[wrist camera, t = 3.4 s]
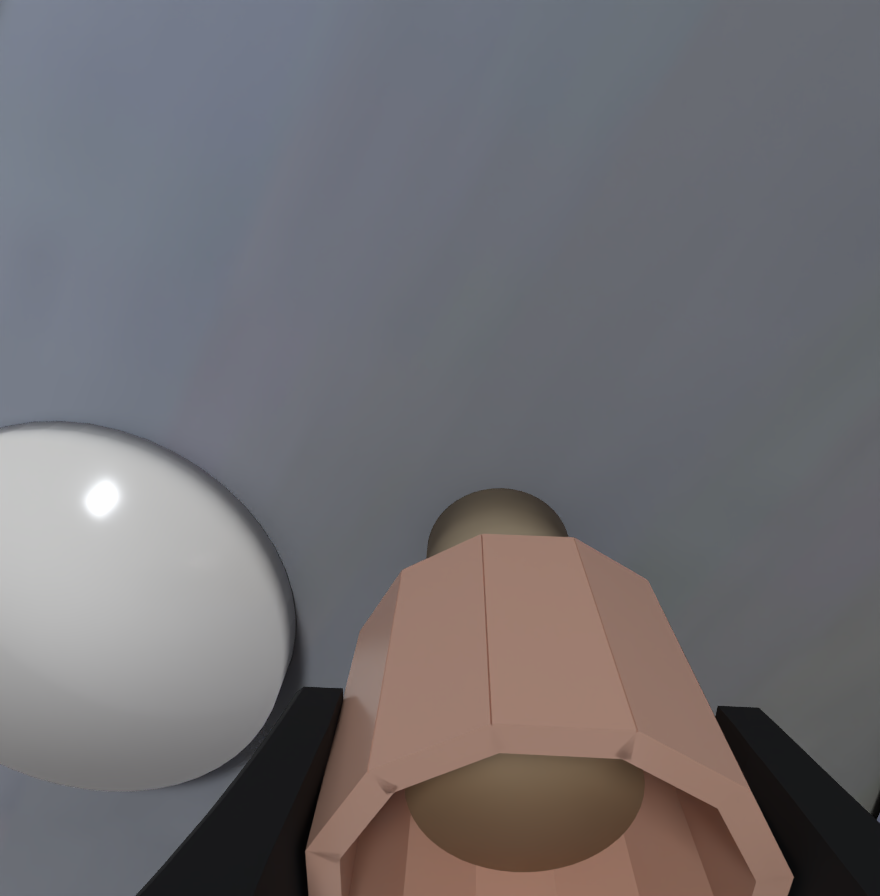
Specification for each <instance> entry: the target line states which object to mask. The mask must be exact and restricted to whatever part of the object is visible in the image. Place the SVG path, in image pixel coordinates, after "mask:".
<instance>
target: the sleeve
mask: <svg viewBox="0 0 880 896" xmlns="http://www.w3.org/2000/svg"><path fill="white" fill-rule="evenodd" d="M498 753H508V754H528V755H549V756H569V757H590V758H610V759H623V760H625V761H627V762H629V763H631V764H633V765H634V766H636V767H638V768H640V769H642V770H643V772H644V780H645V788H644V797H643V800H642V804H641V807H640V809H639V812H638V814H637V816H636V818H635V819H634V821H633V822H632V824H631V825H630V827H629V828H628V829H627V830H626V831H625V832H624V834H623V835H622V836H621V837H620V838H619V839H618V840H616V841H615V842H614V843H613V844H612V845H610V846H609V847H607V848H606V849H604V850H603V851H601V852H600V853H598V854H596V855H594V856H592V857H590V858H588V859H586V860H584V861H581V862H578V863H576V864H573V865H570V866H566V867H562V868H559V869H553V870H547V871H539V872H508V871H499V870H493V869H488V868H484V867H481V866H477V865H473V864H471V863H468V862H466V861H463V860H461V859H459V858H457V857H455V856H453V855H451V854H449V853H447V852H446V851H444V850H443V849H441V848H440V847H438V846H437V845H436V844H435V843H433V842H432V841H431V840H430V839H429V838H428V837H427V836H426V835H425V834H424V833H423V832H422V831H421V829H420V828H419V827H418V825H417V824H416V822H415V821H414V819H413V817H412V815H411V813H410V811H409V808H408V805H407V801H406V797H405V788H407V787H410V786H412V785H415V784H418V783H420V782H423V781H426V780H428V779H431V778H434V777H437V776H439V775H442V774H445V773H447V772H450V771H453V770H455V769H458V768H461V767H463V766H466V765H469V764H471V763H474V762H477V761H479V760H482V759H485V758H487V757H490V756H493V755H496V754H498ZM305 856H306V869H307V881H308V894H309V896H788V893H789V890H790V887H791V884H792V881H793V878H794V876H793V874H792V872H791V870H790V868H789V866H788V864H787V862H786V860H785V858H784V856H783V854H782V852H781V850H780V848H779V846H778V844H777V842H776V840H775V838H774V836H773V834H772V831H771V829H770V827H769V825H768V823H767V821H766V819H765V817H764V815H763V813H762V811H761V809H760V807H759V805H758V803H757V801H756V799H755V797H754V795H753V793H752V791H751V789H750V787H749V785H748V783H747V781H746V779H745V777H744V774H743V772H742V770H741V768H740V766H739V764H738V762H737V760H736V758H735V756H734V754H733V752H732V750H731V748H730V746H729V744H728V742H727V740H726V738H725V736H724V734H723V732H722V730H721V728H720V726H719V724H718V722H717V719H716V717H715V715H714V713H713V711H712V709H711V707H710V705H709V703H708V701H707V699H706V697H705V695H704V693H703V691H702V689H701V687H700V685H699V683H698V681H697V679H696V677H695V675H694V673H693V671H692V669H691V667H690V664H689V662H688V660H687V658H686V656H685V654H684V652H683V650H682V648H681V646H680V644H679V642H678V640H677V638H676V636H675V634H674V632H673V630H672V628H671V626H670V624H669V622H668V620H667V618H666V616H665V614H664V612H663V610H662V608H661V606H660V604H659V602H658V600H657V598H656V596H655V594H654V592H653V590H652V588H651V586H650V584H649V582H648V580H647V579H645V578H643V577H642V576H640V575H638V574H636V573H635V572H633V571H631V570H629V569H628V568H626V567H624V566H623V565H621V564H619V563H617V562H616V561H614V560H612V559H610V558H609V557H607V556H605V555H604V554H602V553H600V552H598V551H597V550H595V549H593V548H591V547H590V546H588V545H586V544H585V543H583V542H581V541H579V540H578V539H576V538H573V537H553V536H527V535H502V534H482V535H481V534H480V535H478V536H475V537H473V538H471V539H469V540H467V541H464V542H462V543H460V544H458V545H456V546H453V547H451V548H449V549H447V550H445V551H443V552H440V553H438V554H436V555H434V556H432V557H429V558H427V559H425V560H423V561H421V562H418V563H416V564H414V565H412V566H410V567H407V568H405V569H403V571H401V572H400V574H399V575H398V577H397V578H396V580H395V581H394V582H393V584H392V585H391V587H390V588H389V590H388V591H387V593H386V594H385V596H384V597H383V598H382V600H381V601H380V603H379V604H378V606H377V607H376V609H375V610H374V611H373V613H372V614H371V616H370V617H369V619H368V620H367V622H366V623H365V624H364V626H363V627H362V629H361V630H360V633H359V637H358V641H357V645H356V649H355V653H354V657H353V661H352V665H351V669H350V673H349V677H348V681H347V685H346V689H345V693H344V697H343V703H342V707H341V711H340V715H339V719H338V723H337V727H336V731H335V735H334V739H333V743H332V747H331V752H330V755H329V759H328V762H327V766H326V770H325V774H324V778H323V782H322V786H321V790H320V794H319V798H318V802H317V806H316V810H315V814H314V818H313V822H312V826H311V830H310V834H309V838H308V842H307V846H306V850H305Z"/></svg>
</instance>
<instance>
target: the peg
mask: <svg viewBox="0 0 880 896" xmlns="http://www.w3.org/2000/svg"><path fill="white" fill-rule="evenodd" d="M480 534H481V535H482V534H502V535H527V536H553V537H568V534H567V531H566V529H565V527H564V524H563V523H562V521H561V519H560V518H559V516H558V515H557V514H556V513H555V512H554V510H553V509H552V508H551V507H549V506H548V505H547V504H546V503H544V502H543V501H541V500H540V499H538V498H536V497H534V496H532V495H530V494H528V493H525V492H522V491H517V490H513V489H503V488H498V489H487V490H481V491H478V492H474V493H471V494H469V495H466V496H464V497H462V498H461V499H459V500H457V501H456V502H454V503H453V504H451V505H450V506H449V507H448V508H447V509H446V510H445V511H444V512H443V513H442V514H441V515H440V517H439V518H438V519H437V521H436V522H435V524H434V526H433V528H432V530H431V533H430V536H429V540H428V548H427V558H429V557H432V556H434V555H436V554H438V553H440V552H443V551H445V550H447V549H449V548H451V547H453V546H456V545H458V544H460V543H462V542H464V541H467V540H469V539H471V538H473V537H475V536H478V535H480ZM427 558H426V559H427ZM644 788H645V780H644V772H643V770H642V769H640V768H638V767H636V766H634V765H633V764H631V763H629V762H627V761H625V760H623V759H610V758H590V757H569V756H549V755H528V754H508V753H498V754H496V755H493V756H490V757H487V758H485V759H482V760H479V761H477V762H474V763H471V764H469V765H466V766H463V767H461V768H458V769H455V770H453V771H450V772H447V773H445V774H442V775H439V776H437V777H434V778H431V779H428V780H426V781H423V782H420V783H418V784H415V785H412V786H410V787H407V788H405V797H406V801H407V805H408V808H409V811H410V813H411V815H412V817H413V819H414V821H415V822H416V824H417V825H418V827H419V828H420V829H421V831H422V832H423V833H424V834H425V835H426V836H427V837H428V838H429V839H430V840H431V841H432V842H433V843H435V844H436V845H437V846H438V847H440V848H441V849H443V850H444V851H446V852H447V853H449V854H451V855H453V856H455V857H457V858H459V859H461V860H463V861H466V862H468V863H471V864H473V865H477V866H481V867H484V868H488V869H493V870H499V871H508V872H539V871H547V870H553V869H559V868H562V867H566V866H570V865H573V864H576V863H578V862H581V861H584V860H586V859H588V858H590V857H592V856H594V855H596V854H598V853H600V852H601V851H603V850H604V849H606V848H607V847H609V846H610V845H612V844H613V843H614V842H615V841H616V840H618V839H619V838H620V837H621V836H622V835H623V834H624V832H625V831H626V830H627V829H628V828H629V827H630V825H631V824H632V822H633V821H634V819H635V818H636V816H637V814H638V812H639V809H640V807H641V804H642V800H643V797H644Z"/></svg>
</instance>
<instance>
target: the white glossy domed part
mask: <svg viewBox="0 0 880 896" xmlns="http://www.w3.org/2000/svg"><path fill="white" fill-rule="evenodd" d="M295 628H296V614H295V608H294V601H293V594H292V590H291V587H290V584H289V581H288V577H287V574H286V571H285V568H284V566H283V564H282V562H281V560H280V558H279V556H278V553H277V551H276V549H275V547H274V546H273V544H272V543H271V541H270V539H269V538H268V536H267V535H266V533H265V531H264V530H263V528H262V527H261V525H260V524H259V523H258V522H257V521H256V519H255V518H254V517H253V516H252V514H251V513H250V512H249V511H248V510H247V508H246V507H245V506H244V505H243V504H242V503H241V502H240V501H239V500H238V499H237V498H236V497H235V496H234V495H233V494H232V493H231V492H230V491H229V490H228V489H227V488H226V487H225V486H223V485H222V484H221V483H220V482H218V481H217V480H216V479H214V478H213V477H212V476H210V475H209V474H208V473H207V472H205V471H204V470H203V469H201V468H200V467H198V466H197V465H195V464H193V463H192V462H190V461H188V460H187V459H185V458H183V457H182V456H180V455H178V454H177V453H175V452H173V451H171V450H169V449H167V448H164V447H162V446H160V445H158V444H156V443H154V442H152V441H149V440H147V439H144V438H141V437H138V436H135V435H132V434H129V433H126V432H123V431H120V430H116V429H112V428H107V427H103V426H98V425H93V424H87V423H77V422H66V421H45V422H29V423H23V424H17V425H11V426H5V427H2V428H0V764H2V765H4V766H6V767H8V768H10V769H13V770H15V771H18V772H21V773H23V774H26V775H29V776H31V777H34V778H37V779H41V780H45V781H48V782H52V783H55V784H59V785H64V786H69V787H75V788H80V789H87V790H98V791H109V792H117V791H142V790H152V789H159V788H163V787H168V786H173V785H177V784H181V783H183V782H186V781H189V780H192V779H195V778H198V777H200V776H202V775H205V774H207V773H209V772H211V771H213V770H215V769H217V768H219V767H220V766H222V765H223V764H225V763H226V762H228V761H229V760H230V759H232V758H233V757H235V756H236V755H237V754H238V753H239V752H241V751H242V750H243V749H244V748H245V747H246V746H247V745H248V744H249V743H250V742H251V741H252V740H253V739H254V737H255V736H256V735H257V734H258V732H259V731H260V730H261V728H262V727H263V726H264V724H265V722H266V720H267V718H268V717H269V715H270V713H271V711H272V709H273V707H274V704H275V702H276V699H277V696H278V694H279V691H280V688H281V686H282V683H283V680H284V677H285V675H286V672H287V669H288V666H289V663H290V660H291V657H292V653H293V647H294V641H295Z"/></svg>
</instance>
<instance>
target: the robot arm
mask: <svg viewBox="0 0 880 896" xmlns="http://www.w3.org/2000/svg"><path fill="white" fill-rule="evenodd" d="M342 703H343V689H342V688H320V687H303V688H302V689H300V690H299V691H298V692H297V693H296V694H295V696H294V697H293V699H292V701H291V702H290V704H289V705H288V707H287V708H286V710H285V711H284V712H283V714H282V715H281V717H280V718H279V720H278V721H277V723H276V724H275V726H274V727H273V728H272V730H271V731H270V733H269V734H268V735H267V737H266V738H265V740H264V741H263V742H262V744H261V745H260V746H259V748H258V749H257V750H256V752H255V753H254V755H253V756H252V757H251V759H250V760H249V761H248V763H247V764H246V765H245V766H244V768H243V769H242V770H241V772H240V773H239V774H238V775H237V777H236V778H235V779H234V781H233V782H232V783H231V784H230V786H229V787H228V788H227V789H226V791H225V792H224V793H223V795H222V796H221V797H220V798H219V800H218V801H217V802H216V804H215V805H214V806H213V807H212V808H211V810H210V811H209V812H208V813H207V815H206V816H205V817H204V818H203V819H202V821H201V822H200V823H199V824H198V825H197V826H196V828H195V829H194V830H193V831H192V832H191V833H190V835H189V836H188V837H187V838H186V839H185V840H184V842H183V843H182V844H181V845H180V846H179V847H178V848H177V850H176V851H175V852H174V853H173V854H172V855H171V857H170V858H169V859H168V860H167V861H166V862H165V864H164V865H163V866H162V867H161V868H160V869H159V870H158V872H157V873H156V874H155V875H154V876H153V877H152V878H151V879H150V880H149V881H148V883H147V884H146V885H145V886H144V887H143V888H142V889H141V890H140V891H139V892H138V893H137V895H136V896H309V894H308V881H307V869H306V856H305V850H306V846H307V842H308V838H309V834H310V830H311V826H312V822H313V818H314V814H315V810H316V806H317V802H318V798H319V794H320V790H321V786H322V782H323V778H324V774H325V770H326V766H327V762H328V759H329V755H330V752H331V747H332V743H333V739H334V735H335V731H336V727H337V723H338V719H339V715H340V711H341V707H342ZM715 717H716V719H717V722H718V724H719V726H720V728H721V730H722V732H723V734H724V736H725V738H726V740H727V742H728V744H729V746H730V748H731V750H732V752H733V754H734V756H735V758H736V760H737V762H738V764H739V766H740V768H741V770H742V772H743V774H744V777H745V779H746V781H747V783H748V785H749V787H750V789H751V791H752V793H753V795H754V797H755V799H756V801H757V803H758V805H759V807H760V809H761V811H762V813H763V815H764V817H765V819H766V821H767V823H768V825H769V827H770V829H771V831H772V834H773V836H774V838H775V840H776V842H777V844H778V846H779V848H780V850H781V852H782V854H783V856H784V858H785V860H786V862H787V864H788V866H789V868H790V870H791V872H792V874H793V876H794V878H793V881H792V884H791V887H790V890H789V893H788V896H880V813H879V816H878V818H877V820H876V819H875V818H874V817H873V816H872V815H871V814H870V813H869V812H868V811H866V810H865V809H864V808H863V807H862V806H861V805H860V804H859V803H858V802H857V801H856V800H855V799H854V798H853V797H852V796H851V795H850V794H848V793H847V792H846V791H845V790H844V789H843V788H842V787H841V786H840V785H839V784H838V783H837V782H836V781H835V780H834V779H833V778H832V777H831V776H830V775H829V774H828V773H827V772H826V771H824V770H823V769H822V768H821V767H820V766H819V765H818V764H817V763H816V762H815V761H814V760H813V759H812V758H811V757H810V756H809V755H808V754H807V753H806V752H805V751H804V750H803V749H802V748H801V747H800V746H799V745H797V744H796V743H795V742H794V741H793V740H792V739H791V738H790V737H789V736H788V735H787V734H786V733H785V732H784V731H783V730H782V729H781V728H780V727H779V726H778V725H777V724H776V723H775V722H773V721H772V720H771V719H770V718H769V717H768V716H767V715H766V714H765V713H764V712H763V711H762V710H761V709H759V708H751V707H730V706H718V708H717V712H716V716H715Z"/></svg>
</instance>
